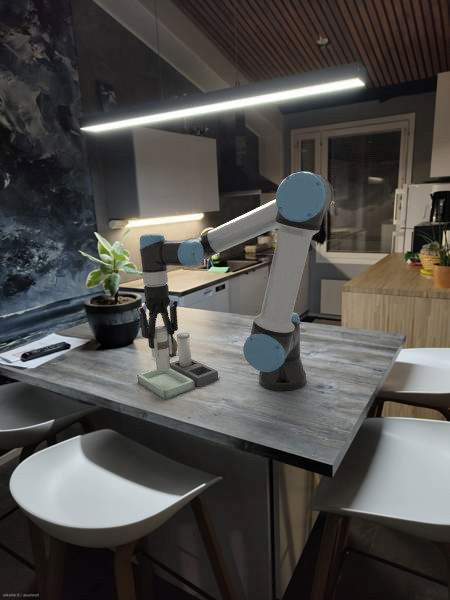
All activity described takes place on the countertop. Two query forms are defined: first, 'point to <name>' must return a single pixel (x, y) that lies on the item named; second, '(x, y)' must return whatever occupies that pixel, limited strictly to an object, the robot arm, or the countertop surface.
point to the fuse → (184, 350)
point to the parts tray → (166, 382)
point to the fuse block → (197, 372)
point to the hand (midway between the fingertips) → (162, 354)
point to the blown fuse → (162, 348)
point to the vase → (174, 347)
